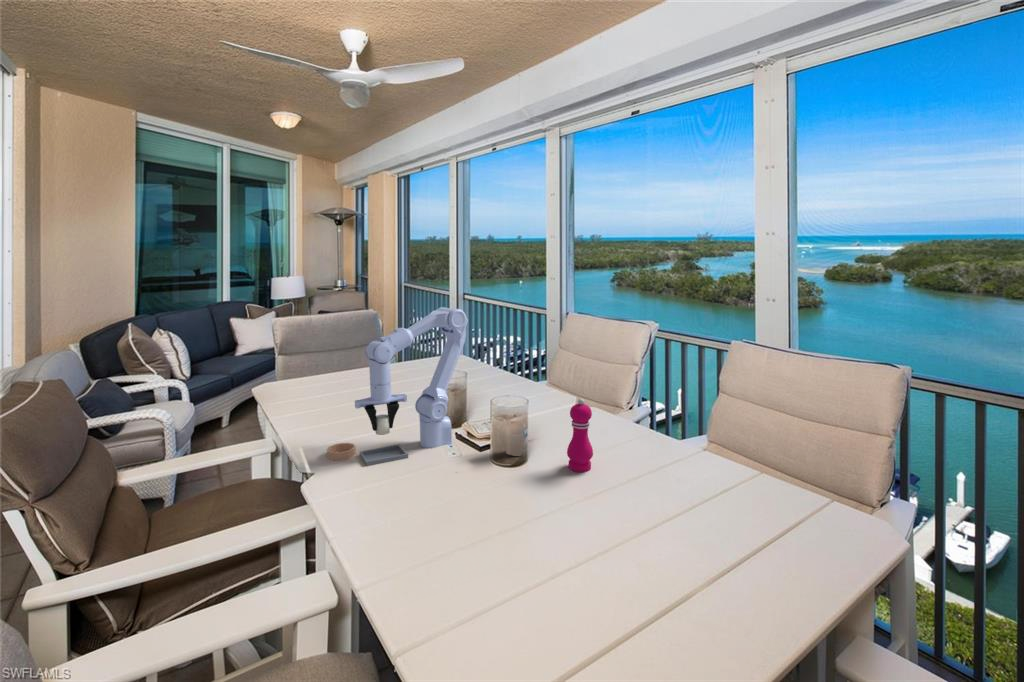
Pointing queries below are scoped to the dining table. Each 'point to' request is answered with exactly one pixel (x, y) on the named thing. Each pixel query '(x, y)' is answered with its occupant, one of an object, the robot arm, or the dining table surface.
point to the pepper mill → (580, 438)
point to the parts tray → (383, 455)
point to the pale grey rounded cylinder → (382, 424)
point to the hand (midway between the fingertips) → (382, 428)
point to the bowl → (335, 455)
